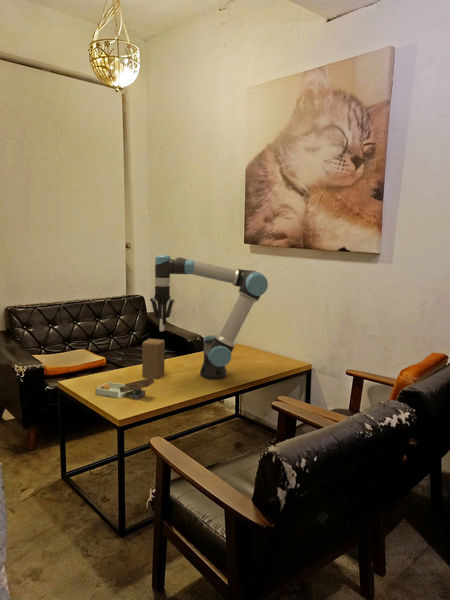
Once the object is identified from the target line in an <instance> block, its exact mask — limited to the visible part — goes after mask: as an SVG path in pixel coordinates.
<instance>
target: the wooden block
mask: <svg viewBox="0 0 450 600" xmlns="http://www.w3.org/2000/svg"><path fill="white" fill-rule="evenodd" d="M165 345H166V342H165V339H157V338H148V339H146V340H144V341H143V342H142V357H141V358H142V362H141V364H142V375H141V376H142V377H143V378H149V377H150V376H153V379H160V378H161V377H162V376H163V375H164V374H165V359H166V358H165V354H166V353H165V349H166V347H165Z"/></svg>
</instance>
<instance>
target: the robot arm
mask: <svg viewBox="0 0 450 600" xmlns="http://www.w3.org/2000/svg"><path fill="white" fill-rule="evenodd" d="M171 275H186V276H187V275H191V276H192V275H193V276H196V277H197V276H198V277H202V278H205V279H211V280H215V281H220V282H224V283H230V284H232V285H233V286H234V287H237V288H239V289H238V294H239V295H238V297H237V300H236V301H235V303H234V305H233V307H232V310H231V311H230V313H229V314H228V317H227V319H226V321H225V323H224V325H223V327H222V329H221V331H220V333H219V334H218V335H216V334H215V335H206V336H204V337H203V363H202V365H201V368H200V372H199V373H200V374H199V376H200V377H201V378H203V379H207V380H222V379H225V378H227V377H228V376H227V375H228V373H227V371H228V370H227V368H226V366H227V365H229V363H230V362H231V359H232V352H233V351H234V348H235V343H234V342H235V340H237V339H236V338H237V337H238V334H240V333H239V332H240V331H241V328H242V327H243V324H244V323H245V321H246V319H247V318H248V315H249V313H250V311H251V309H252V307H253V305H254V303H256V302H259V300H260V299H261V295H264V294H265V293H266V292H267V290H268V286H269V283H268V282H269V281H268V279H267V278H266V276H265V275H264V274H262V272H260V271H259V272H258V271H255V270H248V269H242V268H241V269H240V268H236V269H233V268H228V267H225V266H224V267H222V266H219V265H215V264H210V263H206V262H200V261H196V260H193V259H187V258H184V257H180V256H179V257H176V258H175V259H172V258H171V256H170V254H169V255H168V254H158V255H156V256H155V262H154V278H155V279H154V285H155V287H154V295H153V297H152V298H151V297H150V299H149V300H150V302H151V306H152V309H153V314H154V317H155V318H157V324H158V325H159V332H165V325H167V318H170V316H171V313H172V309H173V304H174V303H175V299H174V298H173V299H172V298H171V294H170V293H171V287H170V285H171Z"/></svg>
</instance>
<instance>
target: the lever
mask: <svg viewBox="0 0 450 600" xmlns="http://www.w3.org/2000/svg"><path fill="white" fill-rule="evenodd" d="M154 383H155V380H154V378H153V376H150V377H149V378H148V377H146V378H144V379H141V380H135V381H132V382H127V383H124V384H125V386H123V387H120V388H119V389H120V392H121V393H122V392H126V391H131V390H132V391H133V390H135V389H139V388H143V389H144V388H146V387H150V386H151V385H153V384H154ZM132 391H131V392H132Z"/></svg>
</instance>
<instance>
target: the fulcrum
mask: <svg viewBox="0 0 450 600" xmlns="http://www.w3.org/2000/svg"><path fill="white" fill-rule="evenodd" d="M128 396H129V397H128V398H129V399H133V400H140V399H141V398H143V397H144V396H146V390H143V389H142V388H139V389H135V390H132V391H131V392H130V393H128Z"/></svg>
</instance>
